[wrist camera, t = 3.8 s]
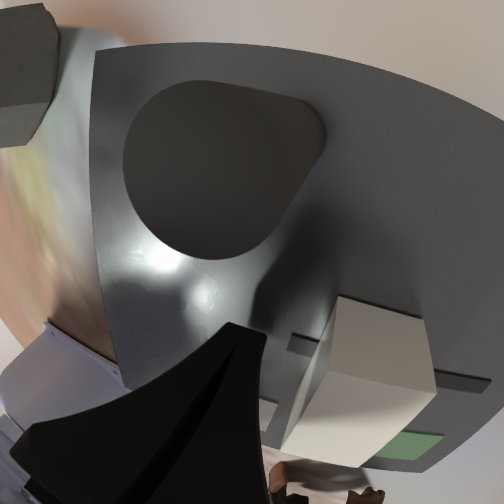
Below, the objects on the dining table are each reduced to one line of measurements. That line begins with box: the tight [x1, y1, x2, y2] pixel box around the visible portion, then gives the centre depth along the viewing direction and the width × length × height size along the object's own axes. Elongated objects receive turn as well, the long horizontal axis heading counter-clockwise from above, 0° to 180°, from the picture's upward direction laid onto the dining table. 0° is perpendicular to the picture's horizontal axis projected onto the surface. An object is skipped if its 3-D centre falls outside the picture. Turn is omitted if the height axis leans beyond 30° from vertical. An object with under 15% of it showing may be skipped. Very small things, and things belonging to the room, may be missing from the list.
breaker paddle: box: [280, 296, 437, 468], centre depth 8 cm, size 3×5×3 cm, turn 171°
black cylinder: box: [123, 80, 326, 260], centre depth 5 cm, size 2×2×5 cm
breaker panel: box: [89, 42, 504, 473], centre depth 11 cm, size 20×18×2 cm
